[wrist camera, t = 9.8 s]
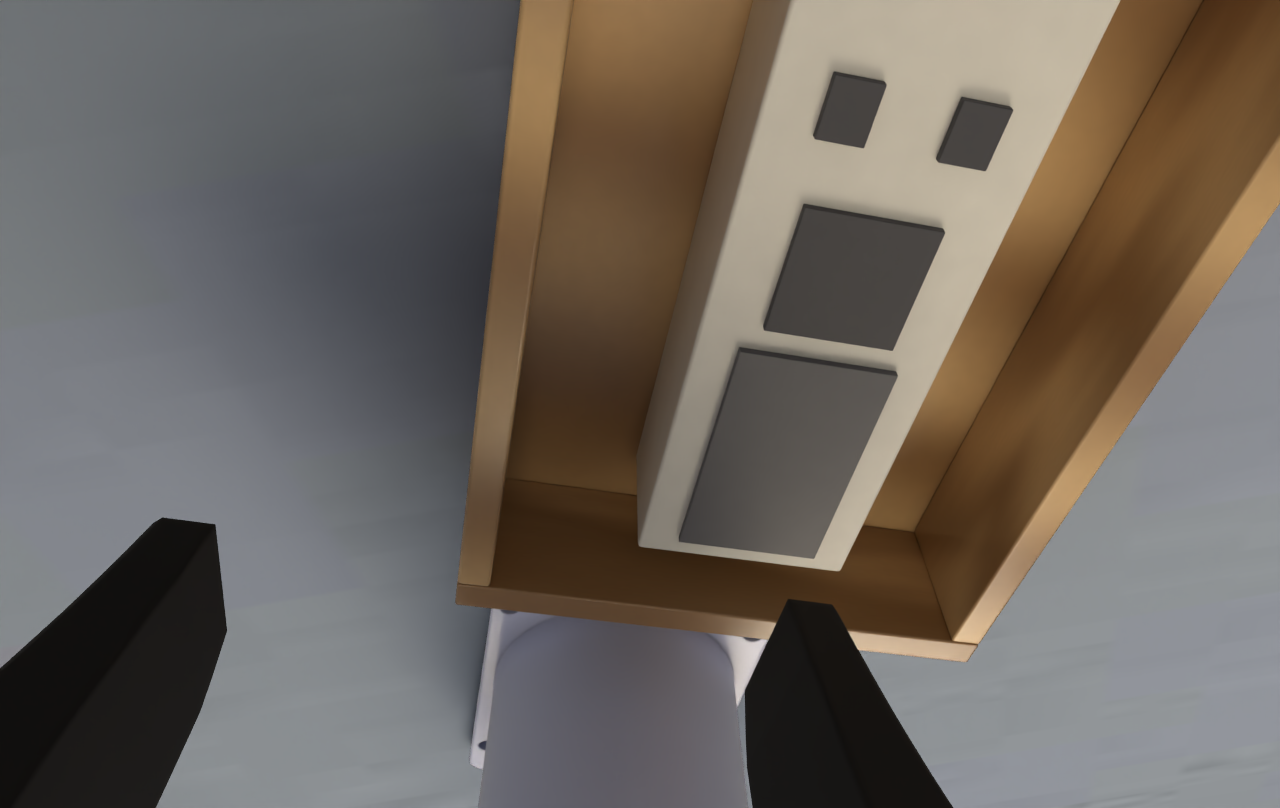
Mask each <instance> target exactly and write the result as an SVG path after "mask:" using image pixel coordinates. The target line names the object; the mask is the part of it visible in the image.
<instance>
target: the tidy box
mask: <svg viewBox="0 0 1280 808" xmlns="http://www.w3.org/2000/svg"><path fill="white" fill-rule="evenodd" d="M752 3H753V0H520V8H519V18H518V27H517V36H516V45H515V54H514V64H513V73H512V82H511V91H510V101H509V110H508V119H507V128H506V138H505V147H504V156H503V165H502V174H501V184H500V193H499V202H498V211H497V221H496V230H495V239H494V248H493V258H492V267H491V276H490V285H489V295H488V304H487V313H486V322H485V331H484V341H483V350H482V359H481V368H480V378H479V387H478V396H477V405H476V415H475V424H474V433H473V442H472V451H471V461H470V470H469V479H468V488H467V498H466V507H465V516H464V525H463V535H462V544H461V553H460V562H459V571H458V582H457V589H456V599H455V603H456V604H457V605H465V606H474V607H483V608H492V609H500V610H509V611H518V612H527V613H536V614H545V615H553V616H562V617H571V618H580V619H589V620H597V621H606V622H615V623H624V624H633V625H642V626H650V627H659V628H668V629H677V630H686V631H694V632H703V633H712V634H721V635H730V636H738V637H747V638H756V639H765V640H769V638H770V636H771V634H772V632H773V630H774V627H775V625H776V623H777V621H778V619H779V617H780V615H781V613H782V610H783V608H784V606H785V604H786V602H787V600H788V599H794V600H802V601H809V602H817V603H825V604H832V605H833V606H834V608H835V609H836V611H837V612H838V614H839V616H840V618H841V619H842V621H843V623H844V625H845V627H846V628H847V630H848V632H849V634H850V636H851V638H852V639H853V641H854V643H855V645H856V647H857V648H858V650H862V651H871V652H880V653H888V654H897V655H906V656H915V657H924V658H932V659H941V660H950V661H959V662H967V661H968V660H969V658H970V657H971V655H972V654H973V652H974V651H975V649H976V648H977V646H978V643H980V642H981V640H982V639H983V637H984V636H985V634H986V633H987V631H988V630H989V629H990V627H991V626H992V624H993V623H994V621H995V620H996V618H997V617H998V615H999V614H1000V612H1001V611H1002V609H1003V608H1004V607H1005V605H1006V604H1007V602H1008V601H1009V599H1010V598H1011V596H1012V595H1013V593H1014V592H1015V590H1016V589H1017V587H1018V586H1019V585H1020V583H1021V582H1022V580H1023V579H1024V577H1025V576H1026V574H1027V573H1028V571H1029V570H1030V568H1031V567H1032V565H1033V564H1034V563H1035V561H1036V560H1037V558H1038V557H1039V555H1040V554H1041V552H1042V551H1043V549H1044V548H1045V546H1046V545H1047V544H1048V542H1049V541H1050V539H1051V538H1052V536H1053V535H1054V533H1055V532H1056V530H1057V529H1058V527H1059V526H1060V524H1061V523H1062V522H1063V520H1064V519H1065V517H1066V516H1067V514H1068V513H1069V511H1070V510H1071V508H1072V507H1073V505H1074V504H1075V502H1076V501H1077V500H1078V498H1079V497H1080V495H1081V494H1082V492H1083V491H1084V489H1085V488H1086V486H1087V485H1088V483H1089V482H1090V480H1091V479H1092V478H1093V476H1094V475H1095V473H1096V472H1097V470H1098V469H1099V467H1100V466H1101V464H1102V463H1103V461H1104V460H1105V459H1106V457H1107V456H1108V454H1109V453H1110V451H1111V450H1112V448H1113V447H1114V445H1115V444H1116V442H1117V441H1118V439H1119V438H1120V437H1121V435H1122V434H1123V432H1124V431H1125V429H1126V428H1127V426H1128V425H1129V423H1130V422H1131V420H1132V419H1133V417H1134V416H1135V415H1136V413H1137V412H1138V410H1139V409H1140V407H1141V406H1142V404H1143V403H1144V401H1145V400H1146V398H1147V397H1148V396H1149V394H1150V393H1151V391H1152V390H1153V388H1154V387H1155V385H1156V384H1157V382H1158V381H1159V379H1160V378H1161V376H1162V375H1163V374H1164V372H1165V371H1166V369H1167V368H1168V366H1169V365H1170V363H1171V362H1172V360H1173V359H1174V357H1175V356H1176V354H1177V353H1178V352H1179V350H1180V349H1181V347H1182V346H1183V344H1184V343H1185V341H1186V340H1187V338H1188V337H1189V335H1190V334H1191V332H1192V331H1193V330H1194V328H1195V327H1196V325H1197V324H1198V322H1199V321H1200V319H1201V318H1202V316H1203V315H1204V313H1205V312H1206V311H1207V309H1208V308H1209V306H1210V305H1211V303H1212V302H1213V300H1214V299H1215V297H1216V296H1217V294H1218V293H1219V291H1220V290H1221V289H1222V287H1223V286H1224V284H1225V283H1226V281H1227V280H1228V278H1229V277H1230V275H1231V274H1232V272H1233V271H1234V269H1235V268H1236V267H1237V265H1238V264H1239V262H1240V261H1241V259H1242V258H1243V256H1244V255H1245V253H1246V252H1247V250H1248V249H1249V248H1250V246H1251V245H1252V243H1253V242H1254V240H1255V239H1256V237H1257V236H1258V234H1259V233H1260V231H1261V230H1262V228H1263V227H1264V226H1265V224H1266V223H1267V221H1268V220H1269V218H1270V217H1271V215H1272V214H1273V212H1274V211H1275V209H1276V208H1277V206H1278V205H1279V204H1280V0H1120V2H1119V4H1118V6H1117V9H1116V11H1115V13H1114V15H1113V17H1112V19H1111V21H1110V23H1109V25H1108V27H1107V29H1106V31H1105V33H1104V35H1103V37H1102V39H1101V41H1100V43H1099V45H1098V47H1097V49H1096V51H1095V53H1094V55H1093V57H1092V59H1091V61H1090V63H1089V65H1088V68H1087V70H1086V72H1085V74H1084V76H1083V78H1082V80H1081V82H1080V84H1079V86H1078V88H1077V90H1076V92H1075V94H1074V96H1073V98H1072V100H1071V102H1070V104H1069V106H1068V108H1067V110H1066V112H1065V114H1064V116H1063V118H1062V120H1061V122H1060V125H1059V127H1058V129H1057V131H1056V133H1055V135H1054V137H1053V139H1052V141H1051V143H1050V145H1049V147H1048V149H1047V151H1046V153H1045V155H1044V157H1043V159H1042V161H1041V163H1040V165H1039V167H1038V169H1037V171H1036V173H1035V175H1034V177H1033V179H1032V182H1031V184H1030V186H1029V188H1028V190H1027V192H1026V194H1025V196H1024V198H1023V200H1022V202H1021V204H1020V206H1019V208H1018V210H1017V212H1016V214H1015V216H1014V218H1013V220H1012V222H1011V224H1010V226H1009V228H1008V230H1007V232H1006V234H1005V236H1004V238H1003V241H1002V243H1001V245H1000V247H999V249H998V251H997V253H996V255H995V257H994V259H993V261H992V263H991V265H990V267H989V269H988V271H987V273H986V275H985V277H984V279H983V281H982V283H981V285H980V287H979V289H978V291H977V293H976V295H975V298H974V300H973V302H972V304H971V306H970V308H969V310H968V312H967V314H966V316H965V318H964V320H963V322H962V324H961V326H960V328H959V330H958V332H957V334H956V336H955V338H954V340H953V342H952V344H951V346H950V348H949V350H948V352H947V355H946V357H945V359H944V361H943V363H942V365H941V367H940V369H939V371H938V373H937V375H936V377H935V379H934V381H933V383H932V385H931V387H930V389H929V391H928V393H927V395H926V397H925V399H924V401H923V403H922V405H921V407H920V409H919V411H918V414H917V416H916V418H915V420H914V422H913V424H912V426H911V428H910V430H909V432H908V434H907V436H906V438H905V440H904V442H903V444H902V446H901V448H900V450H899V452H898V454H897V456H896V458H895V460H894V462H893V464H892V466H891V468H890V471H889V473H888V475H887V477H886V479H885V481H884V483H883V485H882V487H881V489H880V491H879V493H878V495H877V497H876V499H875V501H874V503H873V505H872V507H871V509H870V511H869V513H868V515H867V517H866V519H865V521H864V523H863V525H862V528H861V530H860V532H859V534H858V536H857V538H856V540H855V542H854V544H853V546H852V548H851V550H850V552H849V554H848V556H847V558H846V560H845V562H844V564H843V566H842V568H841V570H840V571H831V570H822V569H814V568H806V567H798V566H790V565H782V564H774V563H766V562H758V561H750V560H742V559H734V558H726V557H718V556H710V555H702V554H694V553H686V552H678V551H670V550H662V549H654V548H645V547H640V546H639V545H638V521H637V459H636V455H637V451H638V447H639V444H640V440H641V436H642V432H643V428H644V424H645V420H646V416H647V412H648V408H649V405H650V401H651V397H652V393H653V389H654V385H655V381H656V377H657V373H658V369H659V366H660V362H661V358H662V354H663V350H664V346H665V342H666V338H667V334H668V330H669V327H670V323H671V319H672V315H673V311H674V307H675V303H676V299H677V295H678V291H679V288H680V284H681V280H682V276H683V272H684V268H685V264H686V260H687V256H688V252H689V249H690V245H691V241H692V237H693V233H694V229H695V225H696V221H697V217H698V213H699V210H700V206H701V202H702V198H703V194H704V190H705V186H706V182H707V178H708V174H709V171H710V167H711V163H712V159H713V155H714V151H715V147H716V143H717V139H718V135H719V132H720V128H721V124H722V120H723V116H724V112H725V108H726V104H727V100H728V96H729V93H730V89H731V85H732V81H733V77H734V73H735V69H736V65H737V61H738V57H739V54H740V50H741V46H742V42H743V38H744V34H745V30H746V26H747V22H748V18H749V15H750V11H751V7H752Z"/></svg>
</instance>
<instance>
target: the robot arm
mask: <svg viewBox="0 0 1280 808" xmlns="http://www.w3.org/2000/svg"><path fill="white" fill-rule="evenodd" d="M226 632H227V626H226V617H225V608H224V599H223V590H222V581H221V572H220V562H219V553H218V544H217V535H216V526H215V524H208V523H200V522H192V521H185V520H177V519H169V518H161V519H159V520H158V521H156V522H154V523H153V524H152V525H151V526H150V527H149V528H148V529H147V530H146V531H145V532H144V533H143V534H142V535H141V536H140V537H139V538H138V539H137V540H136V541H135V542H134V543H133V544H132V545H131V546H130V547H129V548H128V549H127V550H126V551H125V552H124V553H123V554H122V555H121V556H120V557H119V558H118V559H117V560H116V561H115V562H114V563H113V564H112V565H111V566H110V567H109V568H108V569H107V570H106V571H105V572H104V573H103V574H102V575H101V576H100V577H99V578H98V579H97V580H96V581H95V582H94V583H93V584H92V585H90V586H89V587H88V588H87V589H86V590H85V591H84V592H83V593H82V594H81V595H80V596H79V597H78V598H77V599H76V600H75V601H74V602H73V603H72V604H71V605H69V606H68V607H67V608H66V609H65V610H64V611H63V612H62V613H61V614H60V615H59V616H58V617H57V618H55V619H54V620H53V621H52V622H51V623H50V624H49V625H48V626H47V627H45V628H44V629H43V630H42V631H41V632H40V633H39V634H38V635H37V636H36V637H34V638H33V639H32V640H31V641H30V642H29V643H28V644H27V645H26V646H25V647H23V648H22V649H21V650H20V651H19V652H18V653H17V654H16V655H15V656H13V657H12V658H11V659H10V660H9V661H8V662H7V663H6V664H4V665H3V666H2V667H1V668H0V808H156V806H157V804H158V802H159V800H160V797H161V795H162V793H163V791H164V789H165V787H166V785H167V782H168V780H169V778H170V776H171V774H172V772H173V770H174V767H175V765H176V763H177V761H178V759H179V757H180V754H181V752H182V750H183V748H184V746H185V744H186V741H187V739H188V737H189V735H190V733H191V731H192V728H193V726H194V724H195V722H196V720H197V717H198V715H199V713H200V711H201V708H202V705H203V702H204V699H205V696H206V693H207V690H208V687H209V685H210V682H211V679H212V676H213V673H214V670H215V667H216V663H217V660H218V657H219V654H220V651H221V648H222V645H223V642H224V639H225V635H226ZM767 641H768V642H767ZM766 643H767V644H766ZM765 645H766V646H765ZM764 648H765V649H764ZM763 650H764V651H763ZM762 652H763V653H762ZM761 654H762V655H761ZM744 692H745V723H746V752H747V770H748V777H749V784H750V792H751V799H752V806H753V808H953V807H952V805H951V804H950V802H949V801H948V799H947V798H946V796H945V794H944V793H943V791H942V790H941V788H940V787H939V785H938V784H937V782H936V780H935V779H934V777H933V776H932V774H931V773H930V771H929V769H928V768H927V766H926V765H925V763H924V761H923V760H922V758H921V756H920V755H919V753H918V752H917V750H916V748H915V747H914V745H913V743H912V742H911V740H910V739H909V737H908V735H907V734H906V732H905V730H904V729H903V727H902V725H901V724H900V722H899V720H898V719H897V717H896V715H895V714H894V712H893V710H892V709H891V707H890V705H889V703H888V702H887V700H886V698H885V696H884V695H883V693H882V691H881V689H880V688H879V686H878V684H877V682H876V681H875V679H874V677H873V675H872V674H871V672H870V670H869V668H868V666H867V665H866V663H865V661H864V659H863V657H862V656H861V654H860V652H859V650H858V648H857V647H856V645H855V643H854V641H853V639H852V638H851V636H850V634H849V632H848V630H847V628H846V627H845V625H844V623H843V621H842V619H841V618H840V616H839V614H838V612H837V611H836V609H835V608H834V606H833V605H832V604H825V603H817V602H809V601H802V600H794V599H788V600H787V602H786V604H785V606H784V608H783V610H782V613H781V615H780V617H779V619H778V621H777V623H776V625H775V627H774V630H773V632H772V634H771V636H770V638H769V640H765V639H756V638H747V637H738V636H730V635H721V634H712V633H703V632H694V631H686V630H677V629H668V628H659V627H650V626H642V625H633V624H624V623H615V622H606V621H597V620H589V619H580V618H571V617H562V616H553V615H545V614H536V613H527V612H518V611H509V610H500V609H492V608H491V613H490V620H489V626H488V633H487V640H486V647H485V654H484V661H483V667H482V674H481V681H480V688H479V695H478V701H477V708H476V715H475V722H474V729H473V736H472V742H471V749H470V756H469V761H470V763H471V764H472V765H473V766H474V767H476V768H479V769H483V773H482V780H481V788H480V796H479V803H478V808H748V802H747V793H746V784H745V775H744V766H743V757H742V748H741V739H740V730H739V721H738V712H737V707H738V705H739V703H740V701H741V699H742V696H743V694H744Z"/></svg>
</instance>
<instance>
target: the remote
mask: <svg viewBox="0 0 1280 808" xmlns="http://www.w3.org/2000/svg"><path fill="white" fill-rule="evenodd" d="M1119 2H1120V0H753V3H752V7H751V11H750V15H749V18H748V22H747V26H746V30H745V34H744V38H743V42H742V46H741V50H740V54H739V57H738V61H737V65H736V69H735V73H734V77H733V81H732V85H731V89H730V93H729V96H728V100H727V104H726V108H725V112H724V116H723V120H722V124H721V128H720V132H719V135H718V139H717V143H716V147H715V151H714V155H713V159H712V163H711V167H710V171H709V174H708V178H707V182H706V186H705V190H704V194H703V198H702V202H701V206H700V210H699V213H698V217H697V221H696V225H695V229H694V233H693V237H692V241H691V245H690V249H689V252H688V256H687V260H686V264H685V268H684V272H683V276H682V280H681V284H680V288H679V291H678V295H677V299H676V303H675V307H674V311H673V315H672V319H671V323H670V327H669V330H668V334H667V338H666V342H665V346H664V350H663V354H662V358H661V362H660V366H659V369H658V373H657V377H656V381H655V385H654V389H653V393H652V397H651V401H650V405H649V408H648V412H647V416H646V420H645V424H644V428H643V432H642V436H641V440H640V444H639V447H638V451H637V455H636V459H637V521H638V545H639V546H640V547H645V548H654V549H662V550H670V551H678V552H686V553H694V554H702V555H710V556H718V557H726V558H734V559H742V560H750V561H758V562H766V563H774V564H782V565H790V566H798V567H806V568H814V569H822V570H831V571H840V570H841V568H842V566H843V564H844V562H845V560H846V558H847V556H848V554H849V552H850V550H851V548H852V546H853V544H854V542H855V540H856V538H857V536H858V534H859V532H860V530H861V528H862V525H863V523H864V521H865V519H866V517H867V515H868V513H869V511H870V509H871V507H872V505H873V503H874V501H875V499H876V497H877V495H878V493H879V491H880V489H881V487H882V485H883V483H884V481H885V479H886V477H887V475H888V473H889V471H890V468H891V466H892V464H893V462H894V460H895V458H896V456H897V454H898V452H899V450H900V448H901V446H902V444H903V442H904V440H905V438H906V436H907V434H908V432H909V430H910V428H911V426H912V424H913V422H914V420H915V418H916V416H917V414H918V411H919V409H920V407H921V405H922V403H923V401H924V399H925V397H926V395H927V393H928V391H929V389H930V387H931V385H932V383H933V381H934V379H935V377H936V375H937V373H938V371H939V369H940V367H941V365H942V363H943V361H944V359H945V357H946V355H947V352H948V350H949V348H950V346H951V344H952V342H953V340H954V338H955V336H956V334H957V332H958V330H959V328H960V326H961V324H962V322H963V320H964V318H965V316H966V314H967V312H968V310H969V308H970V306H971V304H972V302H973V300H974V298H975V295H976V293H977V291H978V289H979V287H980V285H981V283H982V281H983V279H984V277H985V275H986V273H987V271H988V269H989V267H990V265H991V263H992V261H993V259H994V257H995V255H996V253H997V251H998V249H999V247H1000V245H1001V243H1002V241H1003V238H1004V236H1005V234H1006V232H1007V230H1008V228H1009V226H1010V224H1011V222H1012V220H1013V218H1014V216H1015V214H1016V212H1017V210H1018V208H1019V206H1020V204H1021V202H1022V200H1023V198H1024V196H1025V194H1026V192H1027V190H1028V188H1029V186H1030V184H1031V182H1032V179H1033V177H1034V175H1035V173H1036V171H1037V169H1038V167H1039V165H1040V163H1041V161H1042V159H1043V157H1044V155H1045V153H1046V151H1047V149H1048V147H1049V145H1050V143H1051V141H1052V139H1053V137H1054V135H1055V133H1056V131H1057V129H1058V127H1059V125H1060V122H1061V120H1062V118H1063V116H1064V114H1065V112H1066V110H1067V108H1068V106H1069V104H1070V102H1071V100H1072V98H1073V96H1074V94H1075V92H1076V90H1077V88H1078V86H1079V84H1080V82H1081V80H1082V78H1083V76H1084V74H1085V72H1086V70H1087V68H1088V65H1089V63H1090V61H1091V59H1092V57H1093V55H1094V53H1095V51H1096V49H1097V47H1098V45H1099V43H1100V41H1101V39H1102V37H1103V35H1104V33H1105V31H1106V29H1107V27H1108V25H1109V23H1110V21H1111V19H1112V17H1113V15H1114V13H1115V11H1116V9H1117V6H1118V4H1119Z"/></svg>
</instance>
